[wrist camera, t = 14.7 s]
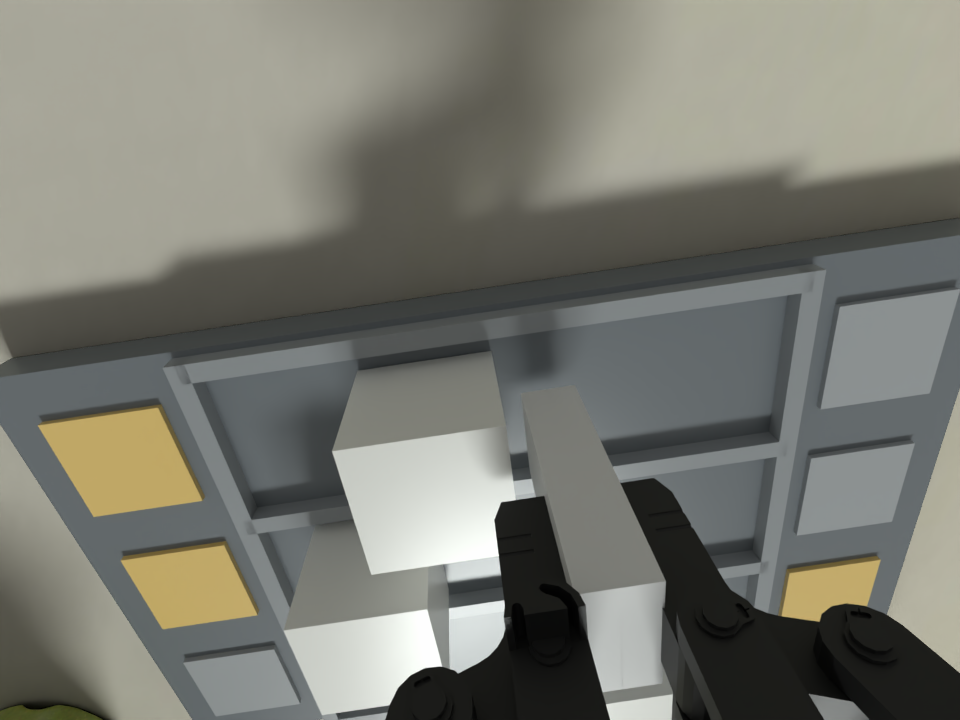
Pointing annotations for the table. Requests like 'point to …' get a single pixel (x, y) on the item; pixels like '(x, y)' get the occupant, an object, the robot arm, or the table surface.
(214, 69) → the table surface
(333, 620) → the white cube
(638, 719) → the white cube
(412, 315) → the switch bank
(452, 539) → the white cube
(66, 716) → the plant pot
